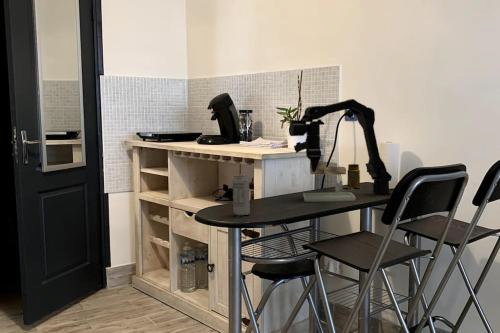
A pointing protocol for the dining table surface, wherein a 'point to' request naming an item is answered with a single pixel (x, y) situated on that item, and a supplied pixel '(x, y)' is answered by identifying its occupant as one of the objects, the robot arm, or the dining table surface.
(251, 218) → the dining table surface
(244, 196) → the energy drink can
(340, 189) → the cylinder
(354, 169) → the condiment
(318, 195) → the tray
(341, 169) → the wooden block frame
